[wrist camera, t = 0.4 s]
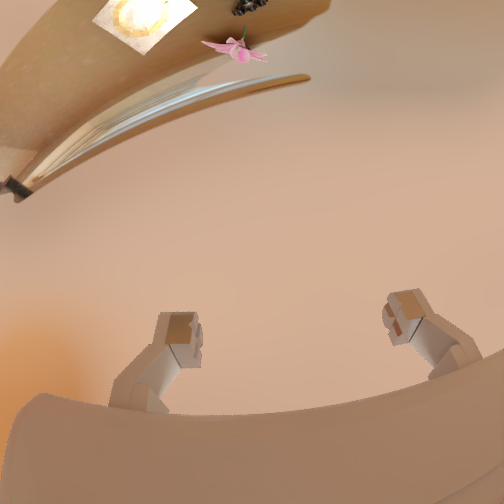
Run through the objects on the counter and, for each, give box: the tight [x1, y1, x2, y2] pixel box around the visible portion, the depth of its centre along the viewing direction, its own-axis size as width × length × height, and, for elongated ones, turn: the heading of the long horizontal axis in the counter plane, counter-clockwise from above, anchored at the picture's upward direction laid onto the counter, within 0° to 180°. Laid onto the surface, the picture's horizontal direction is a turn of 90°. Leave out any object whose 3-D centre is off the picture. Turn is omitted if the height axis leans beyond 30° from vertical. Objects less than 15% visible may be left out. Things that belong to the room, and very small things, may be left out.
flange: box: [92, 0, 198, 56], centre depth 31 cm, size 14×14×3 cm
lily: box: [201, 26, 267, 64], centre depth 40 cm, size 12×12×10 cm
